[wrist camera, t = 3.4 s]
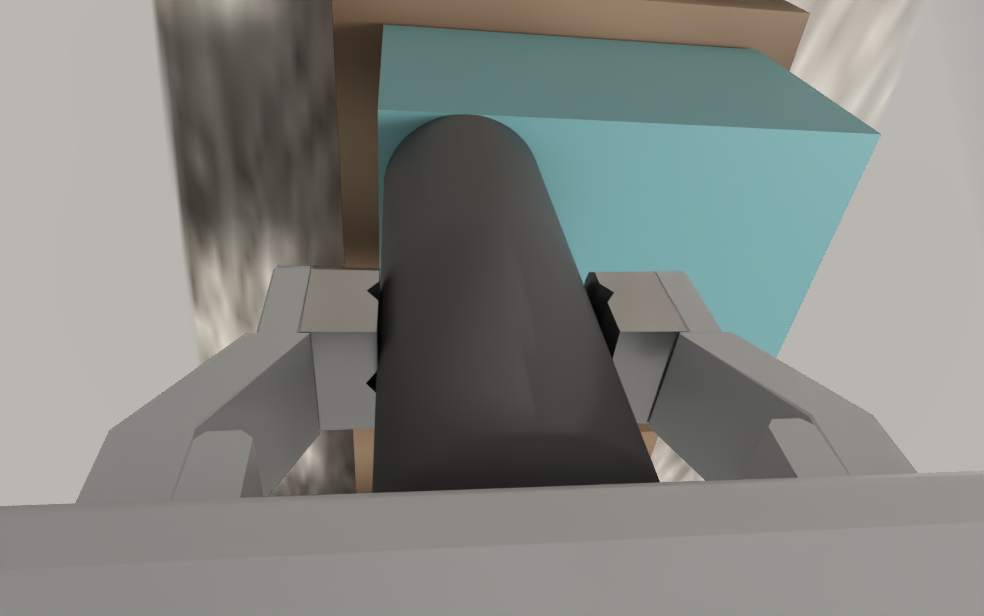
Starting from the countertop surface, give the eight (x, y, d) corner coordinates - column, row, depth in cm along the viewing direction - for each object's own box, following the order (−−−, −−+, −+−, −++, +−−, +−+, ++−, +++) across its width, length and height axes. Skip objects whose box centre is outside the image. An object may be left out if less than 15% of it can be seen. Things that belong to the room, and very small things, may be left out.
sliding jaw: (383, 24, 17) (354, 435, 6) (757, 49, 18) (1289, 414, 7) (384, 253, 21) (370, 742, 10) (689, 258, 23) (966, 689, 12)
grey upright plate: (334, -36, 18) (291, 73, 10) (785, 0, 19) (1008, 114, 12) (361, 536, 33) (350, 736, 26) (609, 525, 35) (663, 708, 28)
